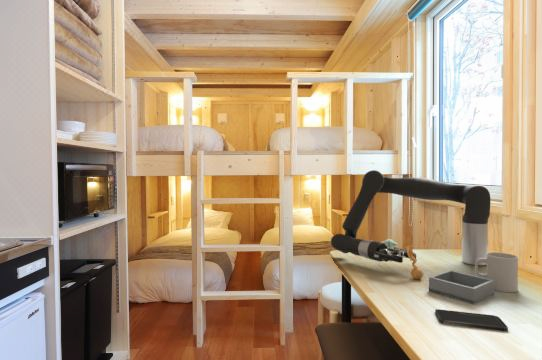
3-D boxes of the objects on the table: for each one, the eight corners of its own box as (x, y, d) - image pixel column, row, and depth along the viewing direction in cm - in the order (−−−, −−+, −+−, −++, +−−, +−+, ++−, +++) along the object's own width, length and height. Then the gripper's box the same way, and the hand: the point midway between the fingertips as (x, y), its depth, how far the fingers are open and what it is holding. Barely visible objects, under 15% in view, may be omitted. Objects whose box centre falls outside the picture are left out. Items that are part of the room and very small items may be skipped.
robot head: (380, 253, 159) (380, 239, 159) (381, 251, 163) (381, 237, 162) (397, 254, 156) (398, 240, 155) (398, 252, 159) (398, 238, 159)
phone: (509, 329, 79) (440, 320, 83) (509, 333, 79) (439, 325, 83) (497, 315, 86) (434, 308, 91) (497, 319, 86) (434, 312, 91)
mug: (514, 286, 111) (514, 253, 111) (520, 294, 104) (521, 259, 104) (473, 281, 117) (473, 250, 116) (476, 288, 109) (476, 255, 109)
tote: (449, 283, 114) (449, 270, 114) (494, 294, 103) (494, 280, 103) (428, 291, 107) (428, 277, 107) (474, 304, 96) (474, 288, 95)
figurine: (421, 283, 115) (421, 248, 114) (402, 280, 118) (403, 246, 118) (424, 276, 122) (424, 244, 122) (407, 274, 125) (407, 242, 125)
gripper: (360, 243, 130) (397, 250, 117) (383, 239, 139) (419, 245, 125) (360, 262, 130) (397, 271, 117) (383, 256, 139) (419, 265, 125)
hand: (409, 258), depth 121 cm, fingers open, 8 cm apart
